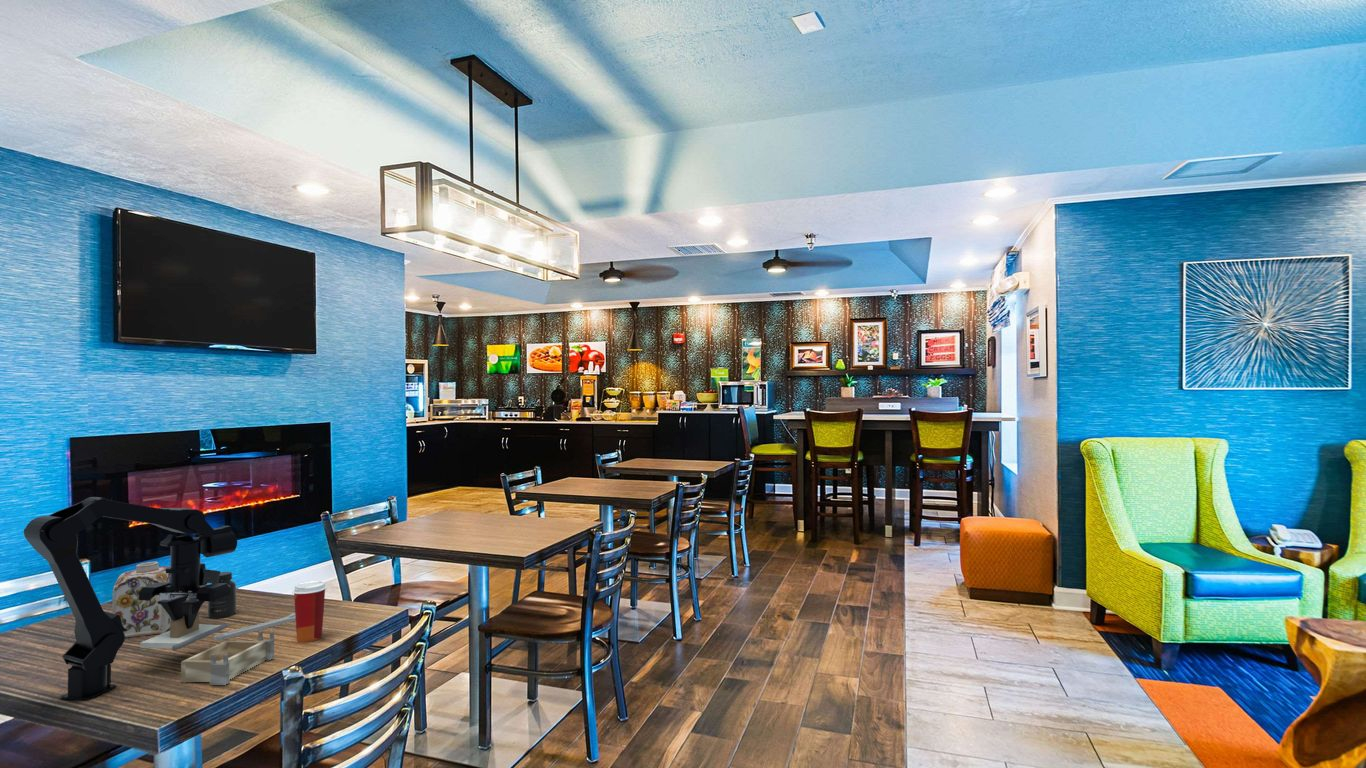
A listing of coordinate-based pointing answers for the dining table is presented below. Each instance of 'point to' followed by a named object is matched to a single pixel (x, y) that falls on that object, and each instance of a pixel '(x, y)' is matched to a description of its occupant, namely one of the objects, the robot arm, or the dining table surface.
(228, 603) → the supplement bottle
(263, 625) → the adjustable wrench
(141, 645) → the cabinet door
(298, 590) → the paper cup
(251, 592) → the dining table surface
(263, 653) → the cabinet
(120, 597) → the decorative jar
